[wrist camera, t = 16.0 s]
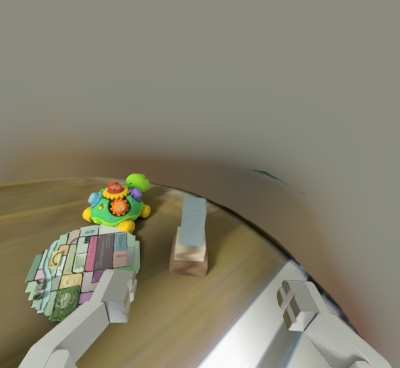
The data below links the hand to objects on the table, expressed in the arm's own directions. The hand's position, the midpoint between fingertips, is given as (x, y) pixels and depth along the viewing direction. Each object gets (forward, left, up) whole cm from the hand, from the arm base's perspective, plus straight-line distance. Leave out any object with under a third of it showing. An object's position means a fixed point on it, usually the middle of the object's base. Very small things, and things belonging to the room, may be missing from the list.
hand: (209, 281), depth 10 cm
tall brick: (0, +27, -24) cm, 36 cm away
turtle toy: (-22, +44, -32) cm, 59 cm away
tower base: (0, +27, -32) cm, 42 cm away
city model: (-23, +23, -33) cm, 46 cm away
